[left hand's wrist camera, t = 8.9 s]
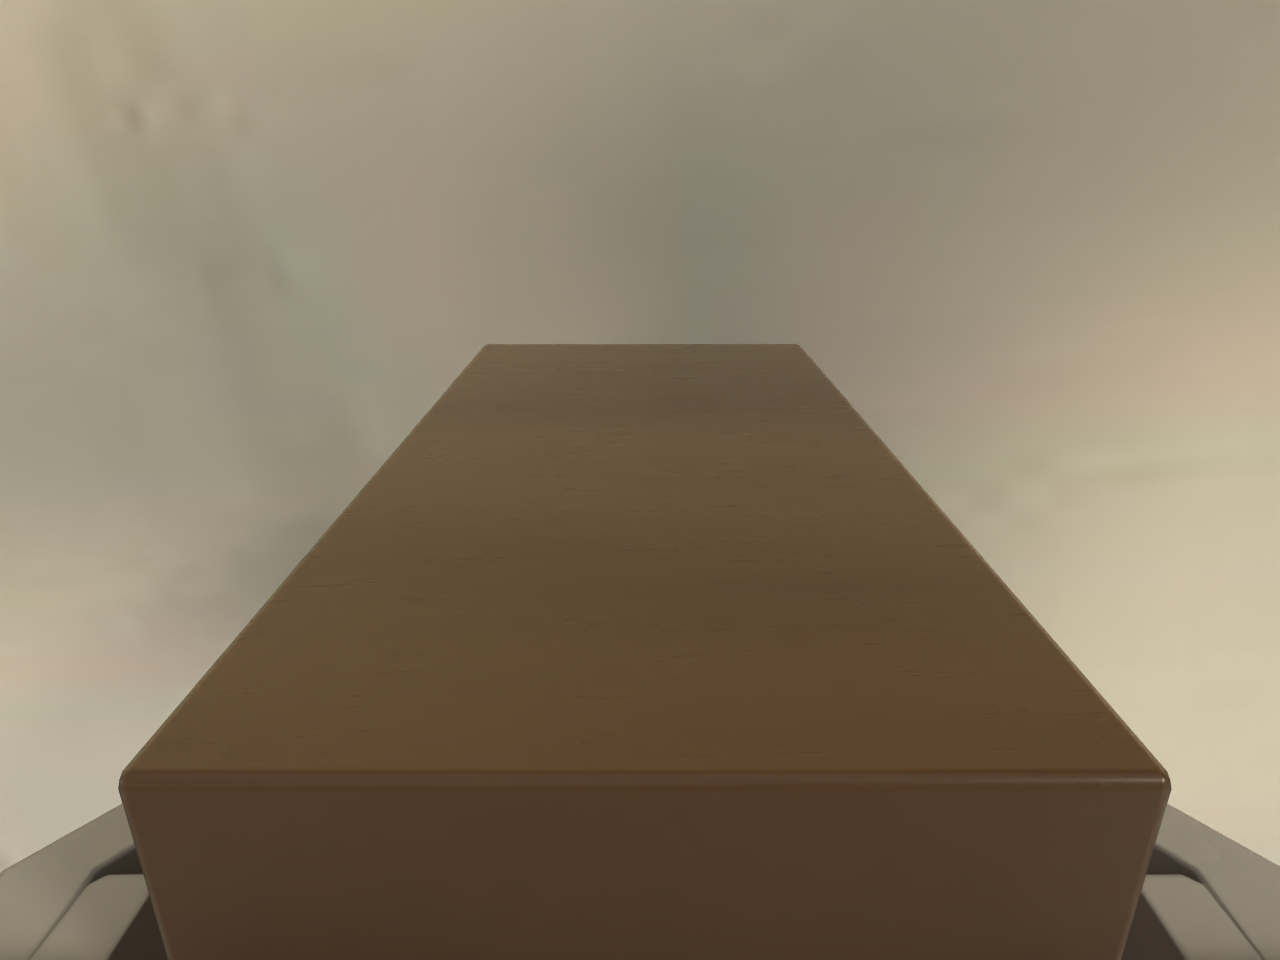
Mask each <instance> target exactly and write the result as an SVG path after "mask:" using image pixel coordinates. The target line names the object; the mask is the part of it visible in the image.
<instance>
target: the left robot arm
mask: <svg viewBox="0 0 1280 960" xmlns="http://www.w3.org/2000/svg"><path fill="white" fill-rule="evenodd" d="M0 960H168V957H167V954H166V951H165V947H164V944H163V940H162V937H161V933H160V930H159V927H158V923H157V920H156V916H155V913H154V909H153V906H152V903H151V899H150V896H149V892H148V889H147V885H146V882H145V879H144V875H143V872H142V868H141V865H140V861H139V858H138V855H137V851H136V848H135V844H134V841H133V837H132V834H131V831H130V827H129V824H128V820H127V817H126V813H125V810H124V807H123V804H121V805H119V806H117V807H116V808H114V809H112V810H110V811H109V812H107V813H105V814H103V815H101V816H100V817H98V818H96V819H94V820H93V821H91V822H89V823H87V824H85V825H84V826H82V827H80V828H78V829H76V830H75V831H73V832H71V833H69V834H68V835H66V836H64V837H62V838H60V839H59V840H57V841H55V842H53V843H52V844H50V845H48V846H46V847H44V848H43V849H41V850H39V851H37V852H36V853H34V854H32V855H30V856H28V857H27V858H25V859H23V860H21V861H20V862H18V863H16V864H14V865H12V866H11V867H9V868H7V869H5V870H4V871H2V872H1V874H0ZM1121 960H1280V866H1278V865H1276V864H1274V863H1273V862H1271V861H1269V860H1267V859H1265V858H1264V857H1262V856H1260V855H1258V854H1256V853H1255V852H1253V851H1251V850H1249V849H1247V848H1246V847H1244V846H1242V845H1240V844H1238V843H1237V842H1235V841H1233V840H1231V839H1230V838H1228V837H1226V836H1224V835H1222V834H1221V833H1219V832H1217V831H1215V830H1213V829H1212V828H1210V827H1208V826H1206V825H1204V824H1203V823H1201V822H1199V821H1197V820H1196V819H1194V818H1192V817H1190V816H1188V815H1187V814H1185V813H1183V812H1181V811H1179V810H1178V809H1176V808H1174V807H1172V806H1170V805H1169V804H1167V806H1166V809H1165V812H1164V816H1163V819H1162V823H1161V826H1160V829H1159V833H1158V836H1157V839H1156V843H1155V846H1154V850H1153V853H1152V856H1151V860H1150V863H1149V867H1148V870H1147V873H1146V877H1145V880H1144V884H1143V887H1142V890H1141V894H1140V897H1139V900H1138V904H1137V907H1136V911H1135V914H1134V917H1133V921H1132V924H1131V928H1130V931H1129V934H1128V938H1127V941H1126V945H1125V948H1124V951H1123V955H1122V958H1121Z"/></svg>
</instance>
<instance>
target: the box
mask: <svg viewBox="0 0 1280 960" xmlns="http://www.w3.org/2000/svg"><path fill="white" fill-rule="evenodd" d="M118 789H119V793H120V796H121V800H122V803H123V807H124V810H125V813H126V817H127V820H128V824H129V827H130V831H131V834H132V837H133V841H134V844H135V848H136V851H137V855H138V858H139V861H140V865H141V868H142V872H143V875H144V879H145V882H146V885H147V889H148V892H149V896H150V899H151V903H152V906H153V909H154V913H155V916H156V920H157V923H158V927H159V930H160V933H161V937H162V940H163V944H164V947H165V951H166V954H167V957H168V960H1121V958H1122V955H1123V951H1124V948H1125V945H1126V941H1127V938H1128V934H1129V931H1130V928H1131V924H1132V921H1133V917H1134V914H1135V911H1136V907H1137V904H1138V900H1139V897H1140V894H1141V890H1142V887H1143V884H1144V880H1145V877H1146V873H1147V870H1148V867H1149V863H1150V860H1151V856H1152V853H1153V850H1154V846H1155V843H1156V839H1157V836H1158V833H1159V829H1160V826H1161V823H1162V819H1163V816H1164V812H1165V809H1166V806H1167V802H1168V799H1169V795H1170V792H1171V783H1170V778H1169V776H1168V773H1167V771H1166V770H1165V769H1164V767H1163V766H1162V765H1161V764H1160V763H1159V762H1158V760H1157V759H1156V758H1155V757H1154V756H1153V755H1152V753H1151V752H1150V751H1149V750H1148V749H1147V748H1146V747H1145V745H1144V744H1143V743H1142V742H1141V741H1140V740H1139V738H1138V737H1137V736H1136V735H1135V734H1134V733H1133V731H1132V730H1131V729H1130V728H1129V727H1128V726H1127V724H1126V723H1125V722H1124V721H1123V720H1122V719H1121V718H1120V716H1119V715H1118V714H1117V713H1116V712H1115V711H1114V709H1113V708H1112V707H1111V706H1110V705H1109V704H1108V702H1107V701H1106V700H1105V699H1104V698H1103V697H1102V695H1101V694H1100V693H1099V692H1098V691H1097V690H1096V689H1095V687H1094V686H1093V685H1092V684H1091V683H1090V682H1089V680H1088V679H1087V678H1086V677H1085V676H1084V675H1083V673H1082V672H1081V671H1080V670H1079V669H1078V668H1077V667H1076V665H1075V664H1074V663H1073V662H1072V661H1071V660H1070V658H1069V657H1068V656H1067V655H1066V654H1065V653H1064V651H1063V650H1062V649H1061V648H1060V647H1059V646H1058V644H1057V643H1056V642H1055V641H1054V640H1053V639H1052V638H1051V636H1050V635H1049V634H1048V633H1047V632H1046V631H1045V629H1044V628H1043V627H1042V626H1041V625H1040V624H1039V622H1038V621H1037V620H1036V619H1035V618H1034V617H1033V616H1032V614H1031V613H1030V612H1029V611H1028V610H1027V609H1026V607H1025V606H1024V605H1023V604H1022V603H1021V602H1020V600H1019V599H1018V598H1017V597H1016V596H1015V595H1014V593H1013V592H1012V591H1011V590H1010V589H1009V588H1008V587H1007V585H1006V584H1005V583H1004V582H1003V581H1002V580H1001V578H1000V577H999V576H998V575H997V574H996V573H995V571H994V570H993V569H992V568H991V567H990V566H989V564H988V563H987V562H986V561H985V560H984V559H983V558H982V556H981V555H980V554H979V553H978V552H977V551H976V549H975V548H974V547H973V546H972V545H971V544H970V542H969V541H968V540H967V539H966V538H965V537H964V536H963V534H962V533H961V532H960V531H959V530H958V529H957V527H956V526H955V525H954V524H953V523H952V522H951V520H950V519H949V518H948V517H947V516H946V515H945V513H944V512H943V511H942V510H941V509H940V508H939V507H938V505H937V504H936V503H935V502H934V501H933V500H932V498H931V497H930V496H929V495H928V494H927V493H926V491H925V490H924V489H923V488H922V487H921V486H920V485H919V483H918V482H917V481H916V480H915V479H914V478H913V476H912V475H911V474H910V473H909V472H908V471H907V469H906V468H905V467H904V466H903V465H902V464H901V462H900V461H899V460H898V459H897V458H896V457H895V456H894V454H893V453H892V452H891V451H890V450H889V449H888V447H887V446H886V445H885V444H884V443H883V442H882V440H881V439H880V438H879V437H878V436H877V435H876V434H875V432H874V431H873V430H872V429H871V428H870V427H869V425H868V424H867V423H866V422H865V421H864V420H863V418H862V417H861V416H860V415H859V414H858V413H857V411H856V410H855V409H854V408H853V407H852V406H851V405H850V403H849V402H848V401H847V400H846V399H845V398H844V396H843V395H842V394H841V393H840V392H839V391H838V389H837V388H836V387H835V386H834V385H833V384H832V382H831V381H830V380H829V379H828V378H827V377H826V376H825V374H824V373H823V372H822V371H821V370H820V369H819V367H818V366H817V365H816V364H815V363H814V362H813V360H812V359H811V358H810V357H809V356H808V355H807V354H806V352H805V351H804V350H803V349H802V348H801V347H800V346H799V345H797V344H543V345H486V346H484V347H483V348H482V349H481V351H480V352H479V353H478V354H477V355H476V356H475V358H474V359H473V360H472V361H471V362H470V363H469V365H468V366H467V367H466V368H465V369H464V371H463V372H462V373H461V374H460V375H459V376H458V378H457V379H456V380H455V381H454V382H453V383H452V385H451V386H450V387H449V388H448V389H447V390H446V392H445V393H444V394H443V395H442V396H441V398H440V399H439V400H438V401H437V402H436V403H435V405H434V406H433V407H432V408H431V409H430V410H429V412H428V413H427V414H426V415H425V416H424V418H423V419H422V420H421V421H420V422H419V423H418V425H417V426H416V427H415V428H414V429H413V430H412V432H411V433H410V434H409V435H408V436H407V438H406V439H405V440H404V441H403V442H402V443H401V445H400V446H399V447H398V448H397V449H396V450H395V452H394V453H393V454H392V455H391V456H390V457H389V459H388V460H387V461H386V462H385V463H384V465H383V466H382V467H381V468H380V469H379V470H378V472H377V473H376V474H375V475H374V476H373V477H372V479H371V480H370V481H369V482H368V483H367V485H366V486H365V487H364V488H363V489H362V490H361V492H360V493H359V494H358V495H357V496H356V497H355V499H354V500H353V501H352V502H351V503H350V505H349V506H348V507H347V508H346V509H345V510H344V512H343V513H342V514H341V515H340V516H339V517H338V519H337V520H336V521H335V522H334V523H333V524H332V526H331V527H330V528H329V529H328V530H327V532H326V533H325V534H324V535H323V536H322V537H321V539H320V540H319V541H318V542H317V543H316V544H315V546H314V547H313V548H312V549H311V550H310V552H309V553H308V554H307V555H306V556H305V557H304V559H303V560H302V561H301V562H300V563H299V564H298V566H297V567H296V568H295V569H294V570H293V572H292V573H291V574H290V575H289V576H288V577H287V579H286V580H285V581H284V582H283V583H282V584H281V586H280V587H279V588H278V589H277V590H276V591H275V593H274V594H273V595H272V596H271V597H270V599H269V600H268V601H267V602H266V603H265V604H264V606H263V607H262V608H261V609H260V610H259V611H258V613H257V614H256V615H255V616H254V617H253V619H252V620H251V621H250V622H249V623H248V624H247V626H246V627H245V628H244V629H243V630H242V631H241V633H240V634H239V635H238V636H237V637H236V639H235V640H234V641H233V642H232V643H231V644H230V646H229V647H228V648H227V649H226V650H225V651H224V653H223V654H222V655H221V656H220V657H219V658H218V660H217V661H216V662H215V663H214V664H213V666H212V667H211V668H210V669H209V670H208V671H207V673H206V674H205V675H204V676H203V677H202V678H201V680H200V681H199V682H198V683H197V684H196V686H195V687H194V688H193V689H192V690H191V691H190V693H189V694H188V695H187V696H186V697H185V698H184V700H183V701H182V702H181V703H180V704H179V706H178V707H177V708H176V709H175V710H174V711H173V713H172V714H171V715H170V716H169V717H168V718H167V720H166V721H165V722H164V723H163V724H162V725H161V727H160V728H159V729H158V730H157V731H156V733H155V734H154V735H153V736H152V737H151V738H150V740H149V741H148V742H147V743H146V744H145V745H144V747H143V748H142V749H141V750H140V751H139V753H138V754H137V755H136V756H135V757H134V758H133V760H132V761H131V762H130V763H129V764H128V765H127V767H126V768H125V769H124V770H123V772H122V774H121V777H120V780H119V788H118Z"/></svg>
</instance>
